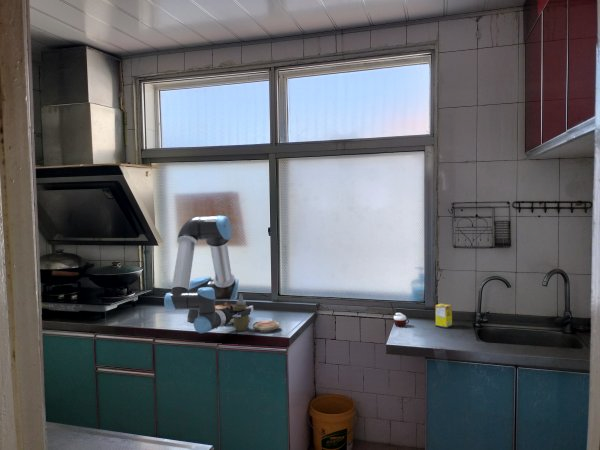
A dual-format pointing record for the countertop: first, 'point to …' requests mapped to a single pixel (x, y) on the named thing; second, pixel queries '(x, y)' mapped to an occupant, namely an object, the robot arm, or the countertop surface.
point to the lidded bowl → (225, 307)
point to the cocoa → (399, 319)
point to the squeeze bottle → (243, 321)
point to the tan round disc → (266, 326)
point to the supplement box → (443, 315)
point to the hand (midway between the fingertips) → (246, 307)
